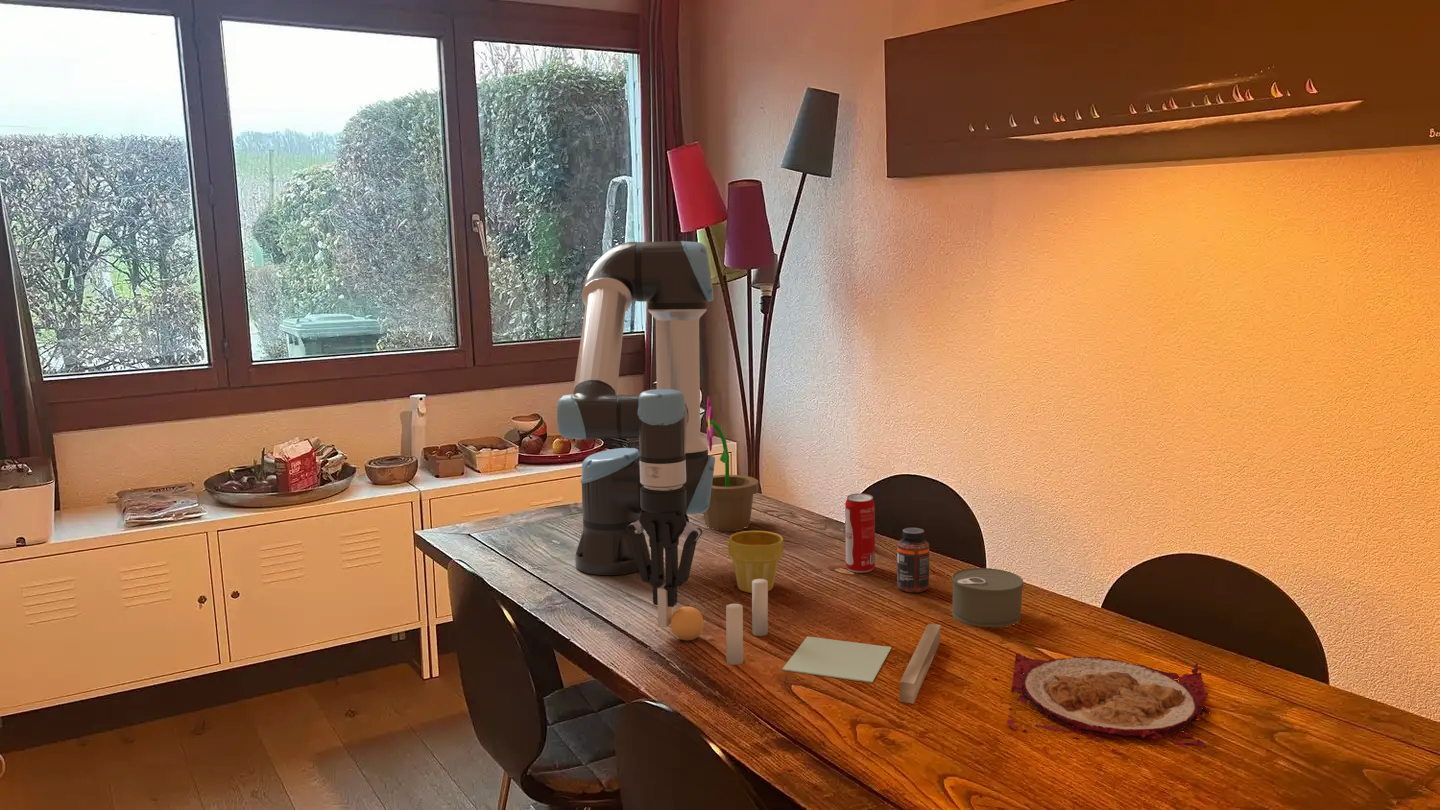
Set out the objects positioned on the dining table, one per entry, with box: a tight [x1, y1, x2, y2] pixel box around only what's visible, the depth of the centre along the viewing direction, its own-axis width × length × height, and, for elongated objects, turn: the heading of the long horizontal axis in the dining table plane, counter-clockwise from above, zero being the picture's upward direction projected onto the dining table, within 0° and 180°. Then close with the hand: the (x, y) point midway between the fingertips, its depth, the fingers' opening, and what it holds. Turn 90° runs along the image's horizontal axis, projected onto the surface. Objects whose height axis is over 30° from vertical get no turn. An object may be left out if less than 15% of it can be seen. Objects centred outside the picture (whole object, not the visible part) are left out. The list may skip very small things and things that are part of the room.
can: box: [951, 567, 1024, 629], centre depth 183 cm, size 12×12×7 cm
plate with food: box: [1006, 653, 1211, 750], centre depth 149 cm, size 25×26×4 cm
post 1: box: [725, 603, 744, 666], centre depth 164 cm, size 3×3×9 cm
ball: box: [670, 606, 705, 641], centre depth 174 cm, size 6×6×6 cm
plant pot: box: [727, 530, 784, 594], centre depth 199 cm, size 10×10×10 cm
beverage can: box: [844, 492, 876, 574], centre depth 208 cm, size 6×6×15 cm
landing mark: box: [781, 635, 892, 684], centre depth 166 cm, size 14×14×1 cm
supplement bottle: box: [896, 527, 930, 594], centre depth 197 cm, size 6×6×11 cm
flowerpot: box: [703, 395, 759, 531], centre depth 240 cm, size 14×14×30 cm
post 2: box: [751, 579, 769, 637], centre depth 176 cm, size 3×3×9 cm
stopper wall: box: [899, 623, 941, 705], centre depth 161 cm, size 2×24×3 cm, turn 160°
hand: (665, 624), depth 175 cm, fingers closed
